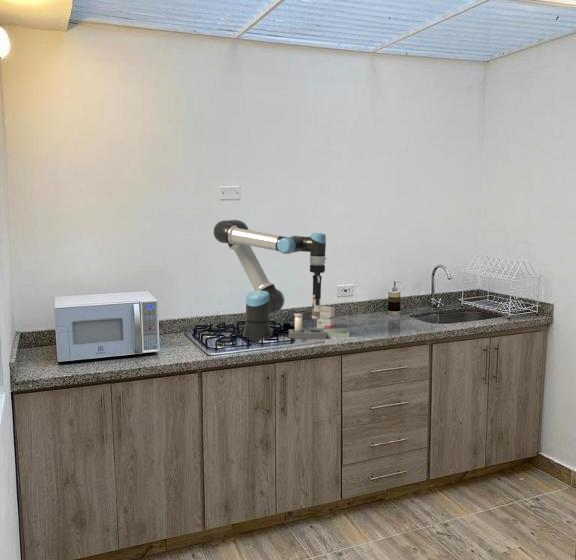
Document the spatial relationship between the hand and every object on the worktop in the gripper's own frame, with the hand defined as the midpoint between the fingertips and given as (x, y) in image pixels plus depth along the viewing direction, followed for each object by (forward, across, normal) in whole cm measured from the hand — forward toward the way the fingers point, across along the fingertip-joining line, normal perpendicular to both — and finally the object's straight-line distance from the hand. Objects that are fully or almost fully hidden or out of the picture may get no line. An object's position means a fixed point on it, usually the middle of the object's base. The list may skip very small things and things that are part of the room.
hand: (316, 310), depth 303 cm
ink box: (+15, +24, -9) cm, 29 cm away
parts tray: (+15, +5, -12) cm, 19 cm away
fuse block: (+15, 0, +4) cm, 15 cm away
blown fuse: (+4, 0, 0) cm, 4 cm away
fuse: (+14, 0, +9) cm, 16 cm away
